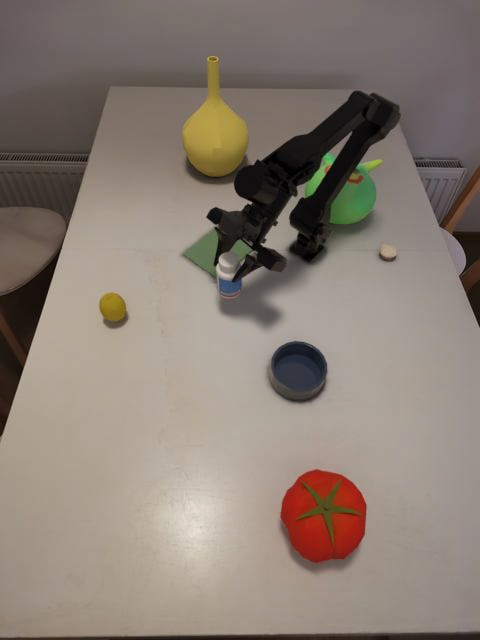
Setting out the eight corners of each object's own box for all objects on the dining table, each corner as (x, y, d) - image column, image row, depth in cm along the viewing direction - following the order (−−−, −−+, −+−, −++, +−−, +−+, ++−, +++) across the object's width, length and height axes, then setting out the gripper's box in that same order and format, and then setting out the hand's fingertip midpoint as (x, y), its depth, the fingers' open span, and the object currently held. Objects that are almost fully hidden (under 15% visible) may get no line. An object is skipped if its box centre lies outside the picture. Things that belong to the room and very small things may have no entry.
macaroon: (381, 262, 107) (384, 256, 105) (374, 248, 109) (377, 241, 107) (397, 260, 107) (401, 253, 105) (389, 245, 110) (393, 238, 108)
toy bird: (293, 223, 114) (301, 177, 101) (312, 184, 122) (321, 138, 110) (360, 243, 110) (376, 198, 98) (374, 202, 119) (391, 155, 107)
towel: (220, 224, 113) (220, 223, 113) (255, 247, 109) (256, 246, 108) (183, 255, 107) (182, 253, 107) (218, 280, 103) (218, 278, 102)
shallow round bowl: (291, 342, 94) (293, 331, 90) (333, 373, 90) (338, 363, 86) (258, 377, 89) (259, 367, 85) (302, 411, 85) (305, 402, 81)
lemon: (124, 329, 95) (116, 309, 88) (100, 325, 95) (90, 304, 89) (132, 309, 98) (125, 288, 91) (109, 305, 98) (100, 283, 92)
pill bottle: (246, 292, 93) (247, 263, 85) (225, 303, 92) (224, 274, 84) (233, 275, 96) (233, 245, 88) (212, 285, 94) (210, 256, 86)
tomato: (357, 487, 77) (376, 470, 68) (350, 576, 70) (370, 572, 60) (285, 469, 79) (292, 451, 69) (270, 555, 71) (276, 548, 62)
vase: (259, 160, 128) (266, 54, 103) (225, 195, 119) (223, 88, 94) (208, 139, 133) (203, 33, 108) (172, 171, 124) (157, 64, 99)
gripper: (211, 172, 80) (170, 242, 85) (281, 227, 72) (232, 301, 78) (242, 187, 89) (204, 250, 94) (307, 237, 82) (262, 302, 87)
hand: (223, 274), depth 88 cm, fingers closed on pill bottle, 5 cm apart
